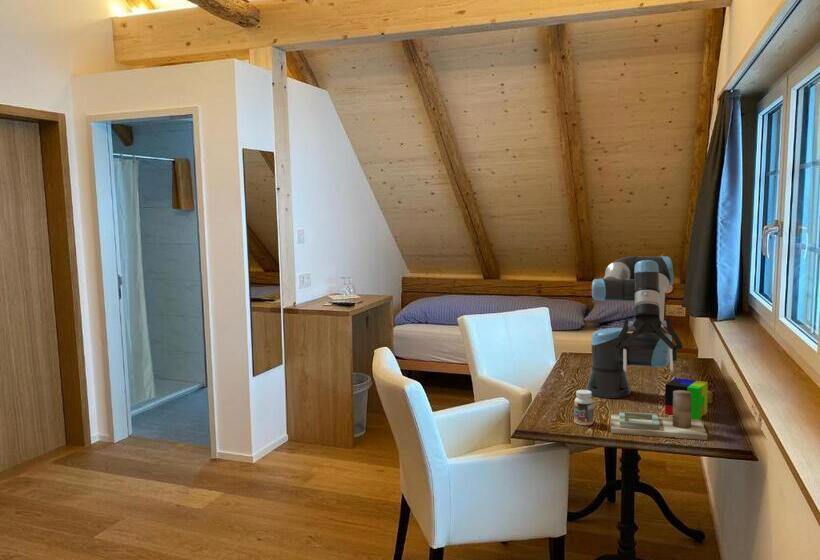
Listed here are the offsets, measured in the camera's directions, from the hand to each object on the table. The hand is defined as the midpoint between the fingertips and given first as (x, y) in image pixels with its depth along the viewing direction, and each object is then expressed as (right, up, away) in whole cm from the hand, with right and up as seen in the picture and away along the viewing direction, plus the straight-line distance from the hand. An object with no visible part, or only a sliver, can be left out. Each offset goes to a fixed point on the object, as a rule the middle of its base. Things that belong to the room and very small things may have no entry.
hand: (648, 370), depth 199 cm
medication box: (+26, -13, +23) cm, 38 cm away
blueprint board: (0, -16, -7) cm, 18 cm away
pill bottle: (-20, -16, 0) cm, 26 cm away
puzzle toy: (+15, -15, +7) cm, 22 cm away
